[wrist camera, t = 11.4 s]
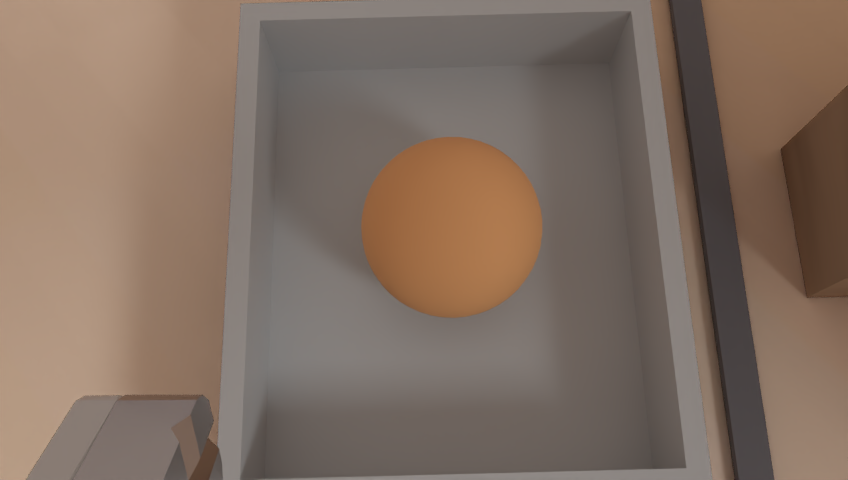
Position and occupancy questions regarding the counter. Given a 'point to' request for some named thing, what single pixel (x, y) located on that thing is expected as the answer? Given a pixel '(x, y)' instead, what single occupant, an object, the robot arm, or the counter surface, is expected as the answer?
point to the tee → (821, 198)
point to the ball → (451, 227)
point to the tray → (477, 334)
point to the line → (720, 247)
